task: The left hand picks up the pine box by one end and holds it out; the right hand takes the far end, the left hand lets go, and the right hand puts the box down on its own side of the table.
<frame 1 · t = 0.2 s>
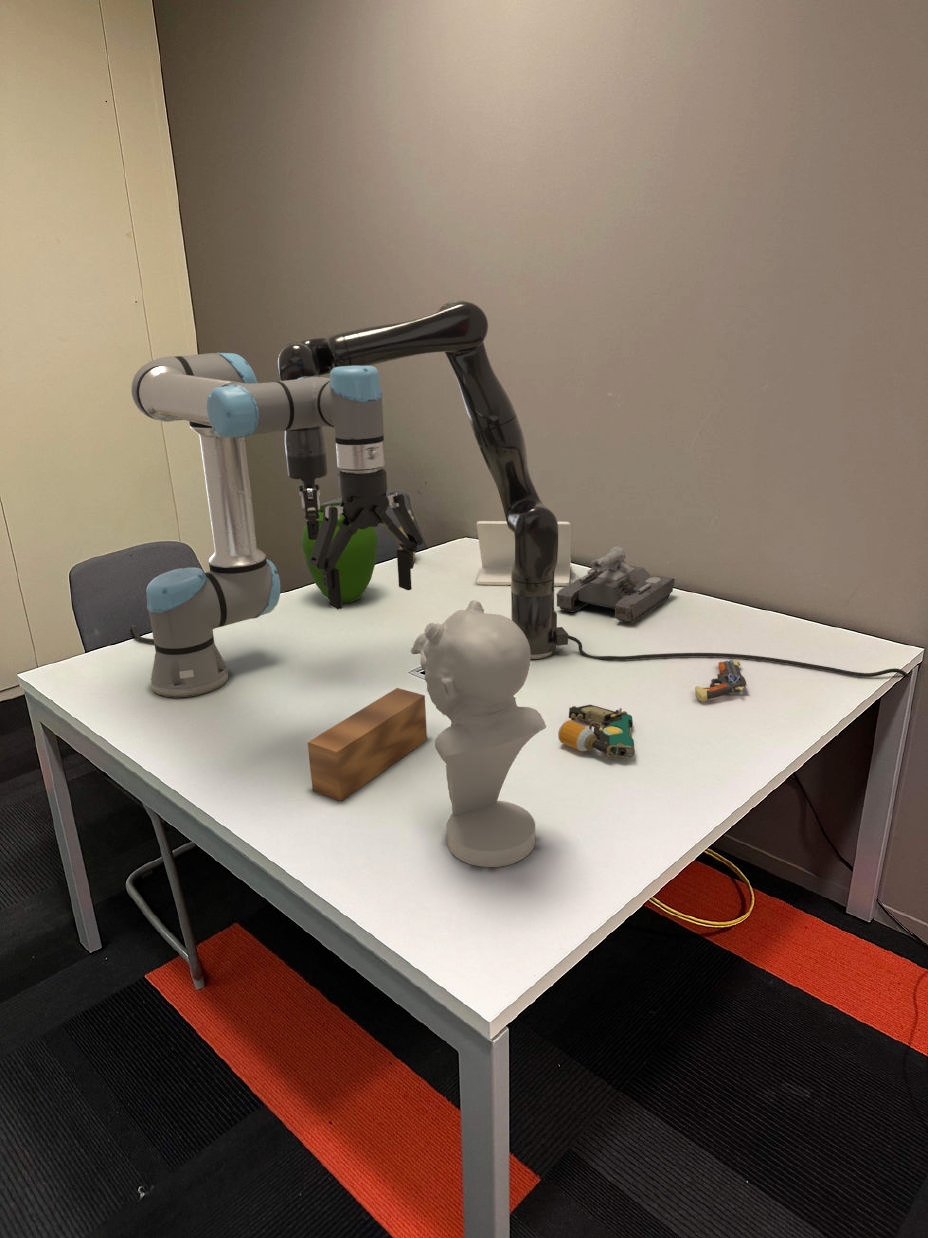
left hand: (371, 597, 141), 28 cm above the table, tool pointing down, fingers open, 13 cm apart
right hand: (313, 533, 169), 30 cm above the table, tool pointing down, fingers open, 8 cm apart
box: (372, 764, 144), on the table
toy gun: (718, 684, 170), on the table
vase: (344, 599, 225), on the table
toy: (615, 605, 214), on the table
sculpture: (408, 560, 256), on the table
bust sculpture: (470, 832, 125), on the table
tablet stand: (525, 575, 239), on the table
spray gun: (601, 738, 150), on the table
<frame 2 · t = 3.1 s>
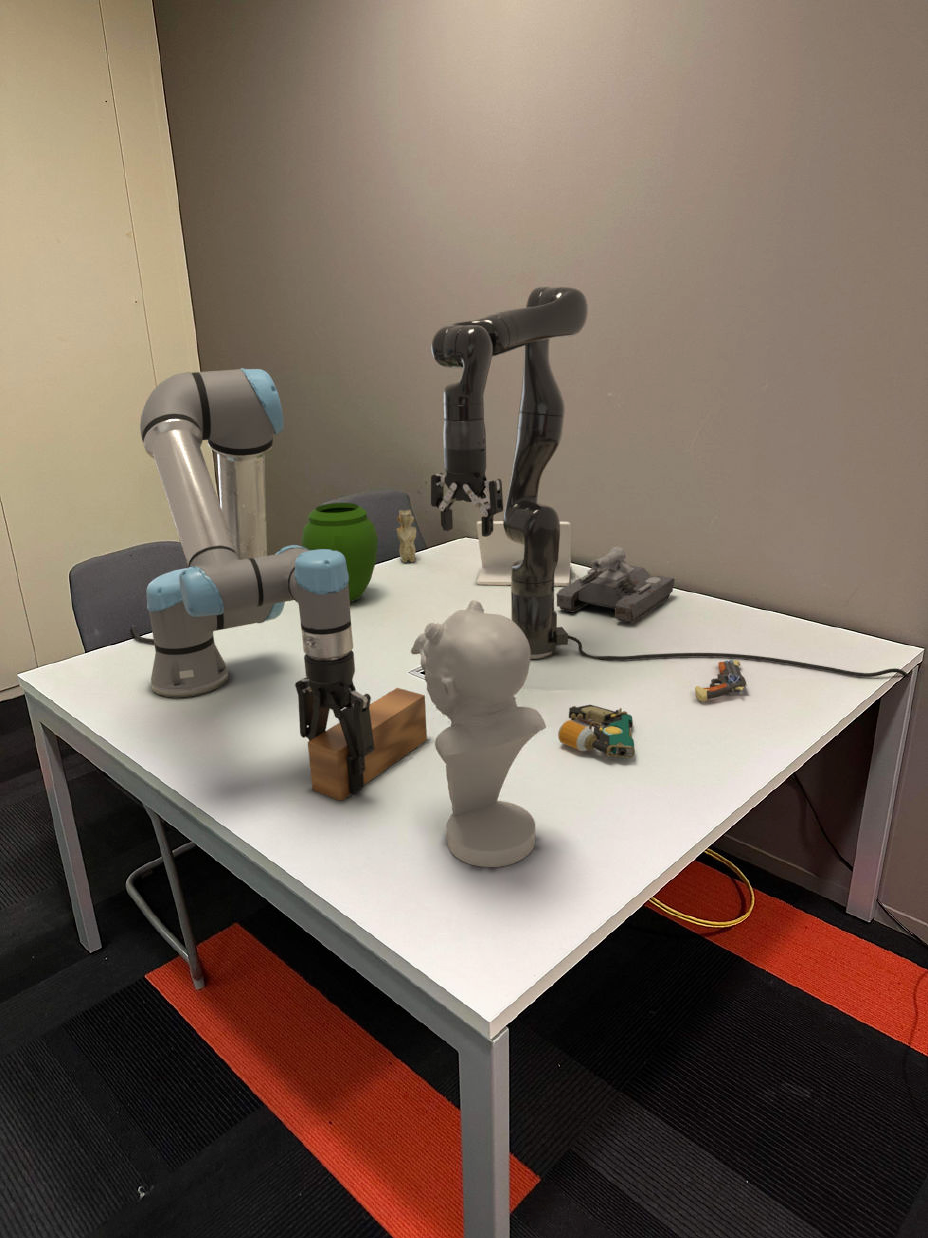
left hand: (340, 783, 138), 1 cm above the table, tool pointing down, fingers closed on box, 6 cm apart
right hand: (467, 532, 157), 33 cm above the table, tool pointing down, fingers open, 8 cm apart
box: (372, 763, 144), on the table, touching left hand
everything else where it was.
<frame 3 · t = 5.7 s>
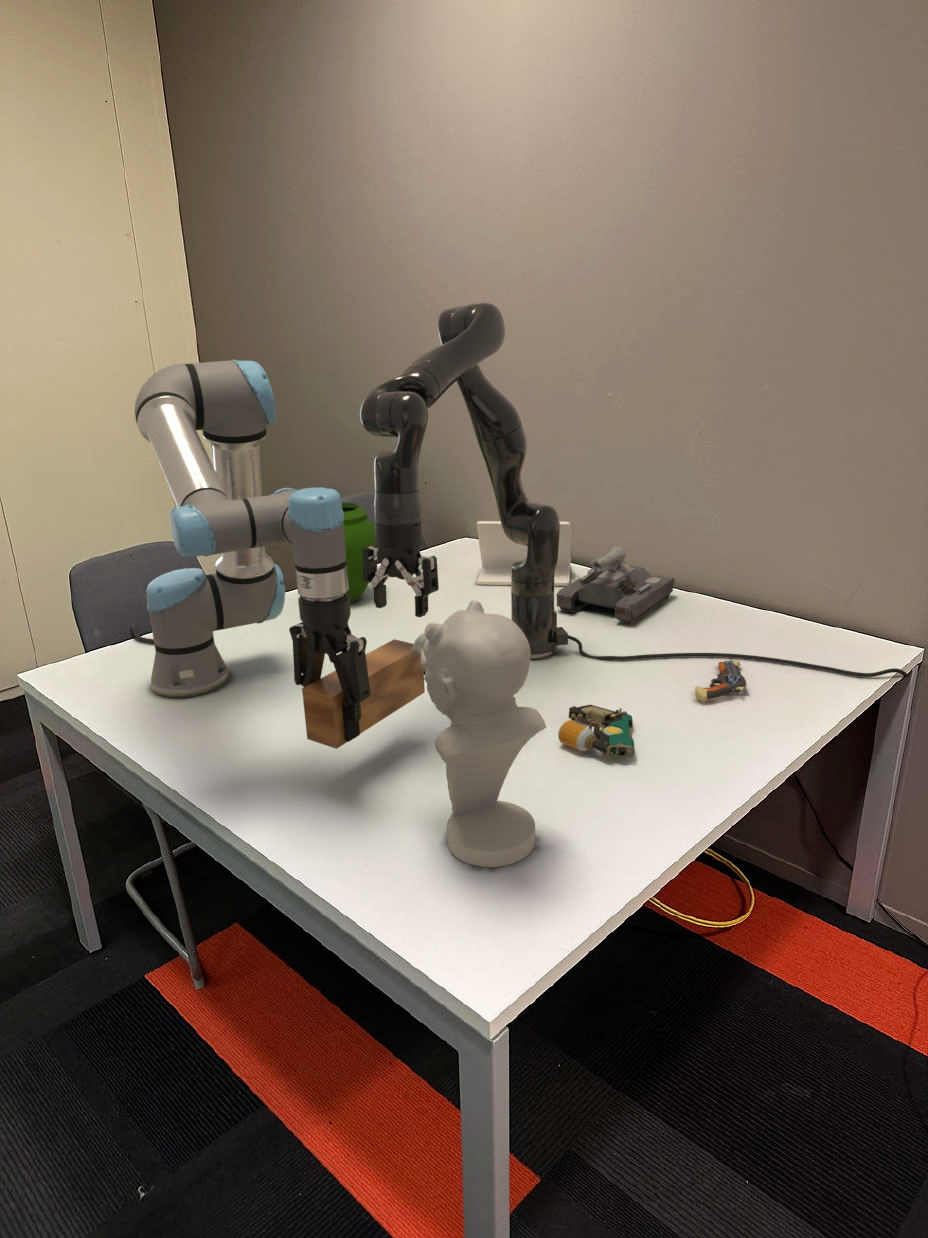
left hand: (335, 732, 135), 10 cm above the table, tool pointing down, fingers closed on box, 6 cm apart
right hand: (400, 611, 144), 24 cm above the table, tool pointing down, fingers open, 8 cm apart
box: (369, 714, 141), point 9 cm above the table, touching left hand
everything else where it was.
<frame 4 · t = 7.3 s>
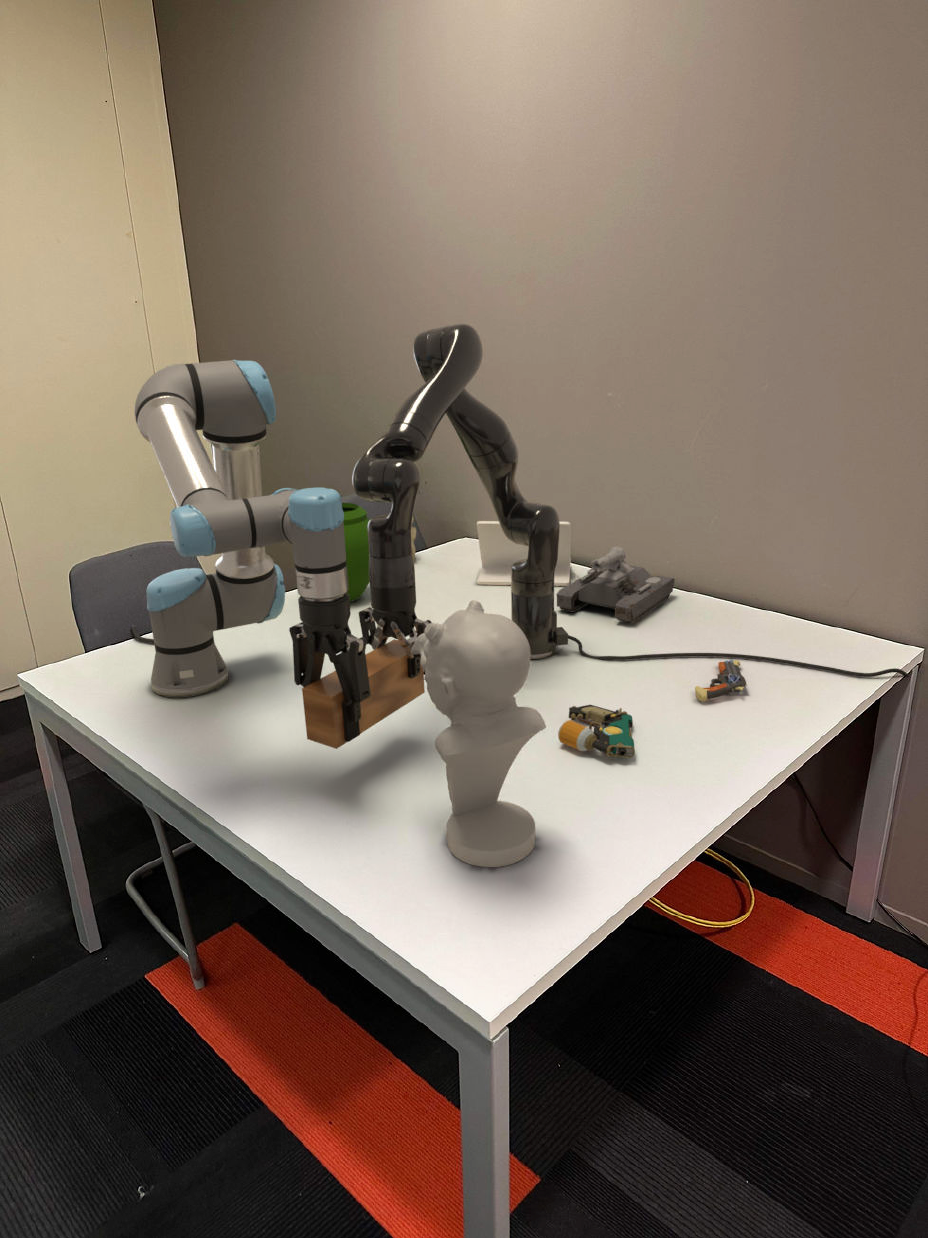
left hand: (335, 732, 135), 10 cm above the table, tool pointing down, fingers closed on box, 6 cm apart
right hand: (397, 672, 146), 14 cm above the table, tool pointing down, fingers closed on box, 6 cm apart
box: (368, 714, 141), point 9 cm above the table, touching right hand, left hand
everything else where it was.
when the left hand's fingers open (10 cm above the table, at t = 8.4 s): box stays where it is, held by the right hand.
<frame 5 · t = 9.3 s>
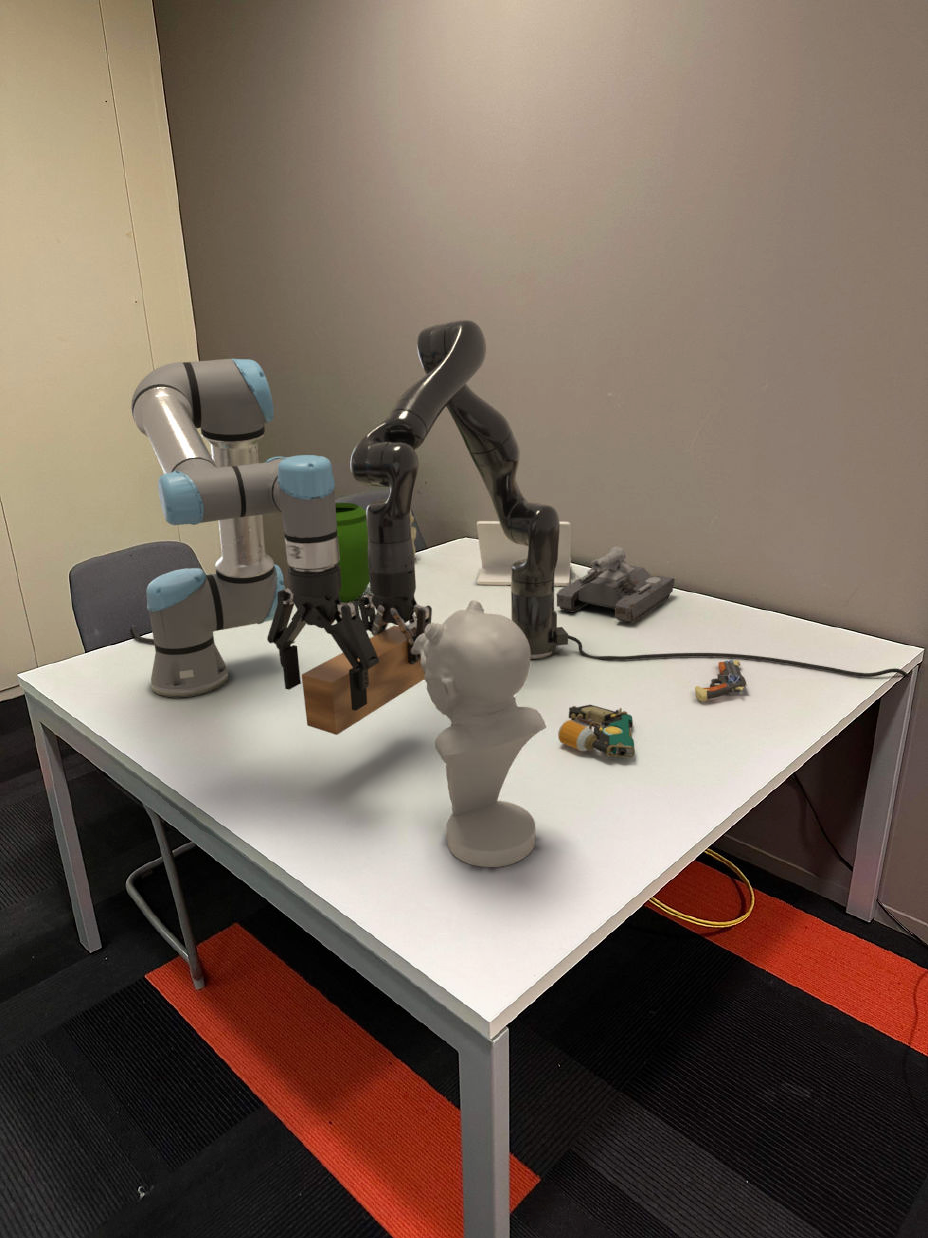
left hand: (325, 696, 131), 17 cm above the table, tool pointing down, fingers open, 13 cm apart
right hand: (397, 658, 145), 16 cm above the table, tool pointing down, fingers closed on box, 6 cm apart
box: (369, 701, 140), point 12 cm above the table, touching right hand
everything else where it was.
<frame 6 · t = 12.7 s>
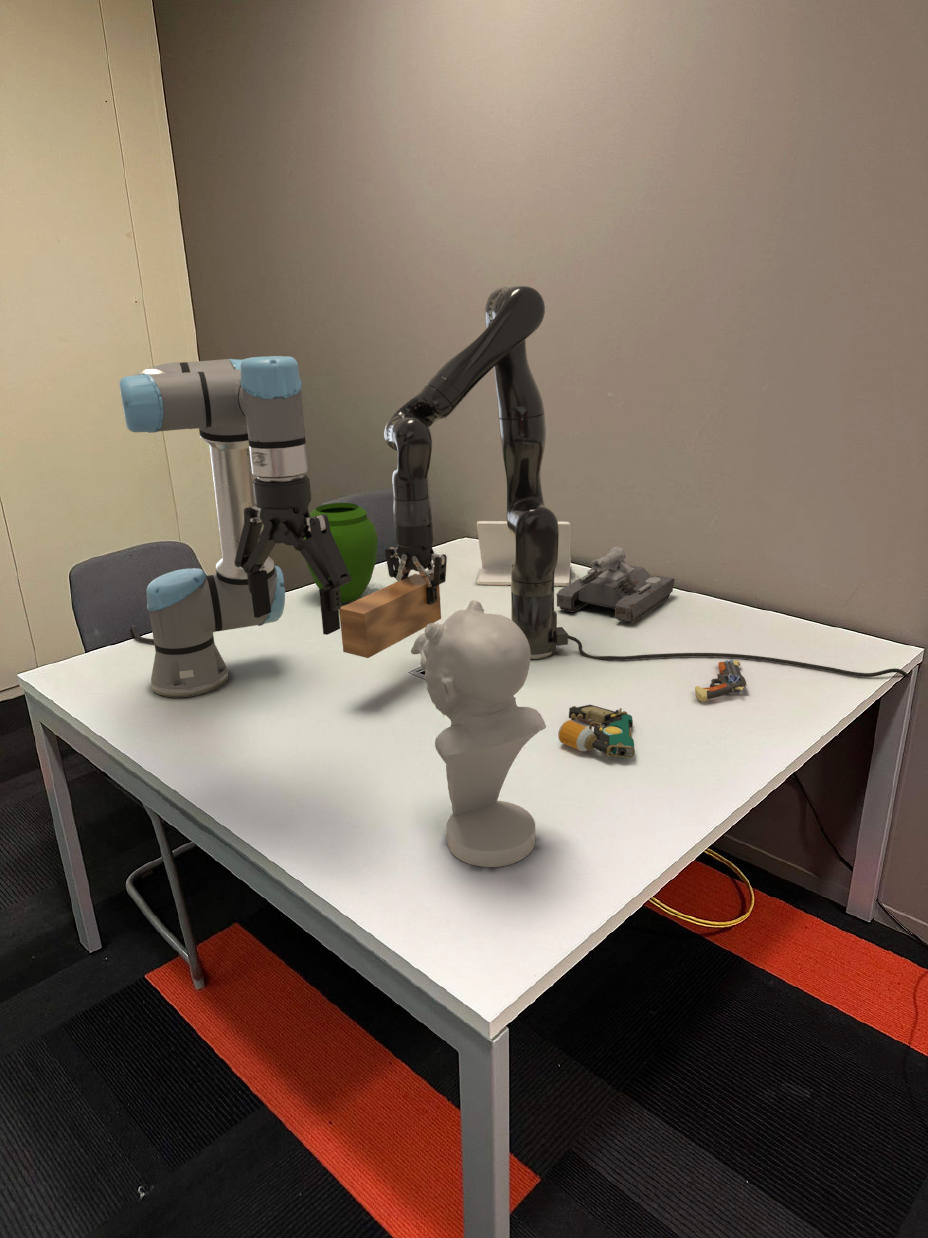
left hand: (296, 623, 123), 30 cm above the table, tool pointing down, fingers open, 13 cm apart
right hand: (418, 600, 172), 16 cm above the table, tool pointing down, fingers closed on box, 6 cm apart
box: (394, 634, 168), point 12 cm above the table, touching right hand
everything else where it was.
when the right hand's fingers open (6 cm above the table, at t = 18.2 s): box drops 2 cm, on the table.
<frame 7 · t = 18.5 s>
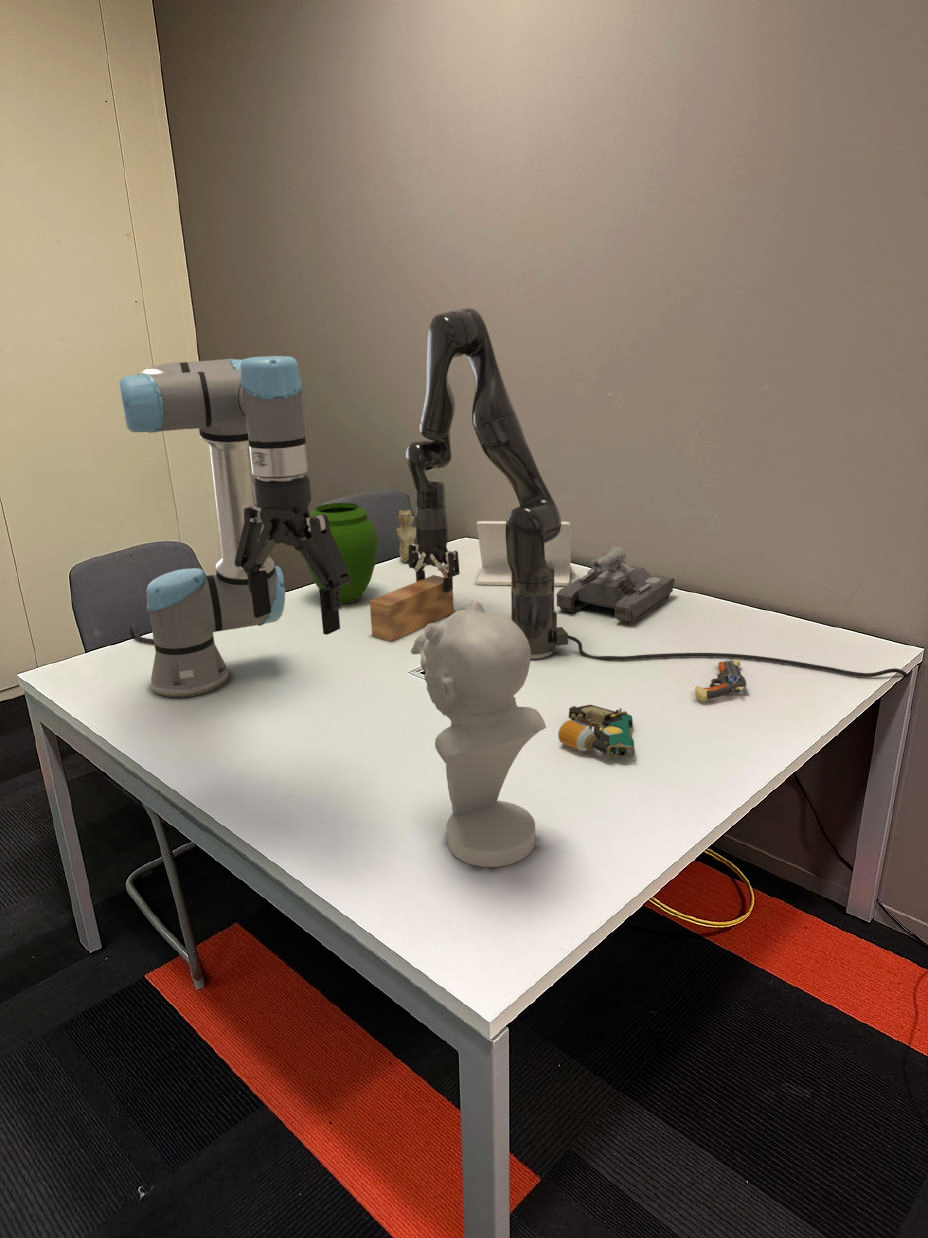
left hand: (296, 623, 123), 30 cm above the table, tool pointing down, fingers open, 13 cm apart
right hand: (434, 588, 209), 7 cm above the table, tool pointing down, fingers open, 8 cm apart
box: (414, 624, 206), on the table
everything else where it was.
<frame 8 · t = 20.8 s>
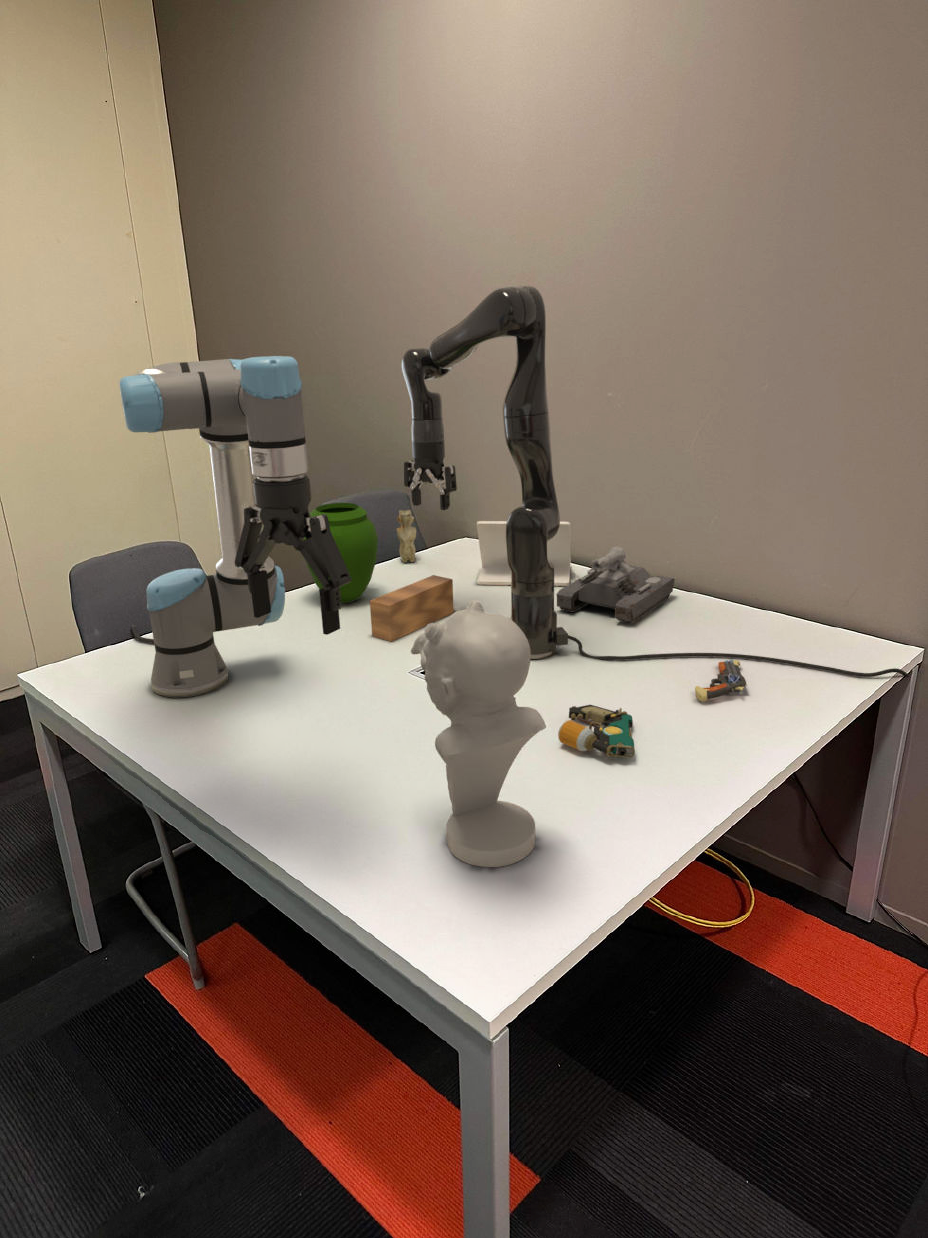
left hand: (296, 623, 123), 30 cm above the table, tool pointing down, fingers open, 13 cm apart
right hand: (430, 507, 202), 27 cm above the table, tool pointing down, fingers open, 8 cm apart
nothing on the table moved.
at the end: box inside the target area (8.1 cm from its centre), on the table; the left hand is holding nothing; the right hand is holding nothing; box at rest at the end (0.0 cm/s) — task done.
